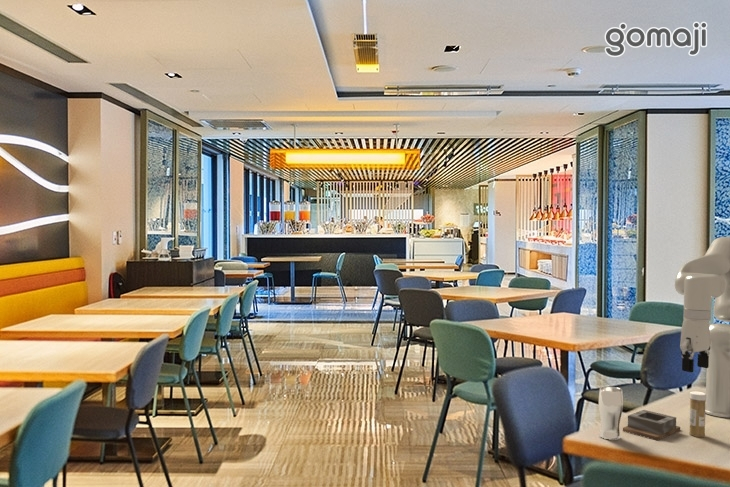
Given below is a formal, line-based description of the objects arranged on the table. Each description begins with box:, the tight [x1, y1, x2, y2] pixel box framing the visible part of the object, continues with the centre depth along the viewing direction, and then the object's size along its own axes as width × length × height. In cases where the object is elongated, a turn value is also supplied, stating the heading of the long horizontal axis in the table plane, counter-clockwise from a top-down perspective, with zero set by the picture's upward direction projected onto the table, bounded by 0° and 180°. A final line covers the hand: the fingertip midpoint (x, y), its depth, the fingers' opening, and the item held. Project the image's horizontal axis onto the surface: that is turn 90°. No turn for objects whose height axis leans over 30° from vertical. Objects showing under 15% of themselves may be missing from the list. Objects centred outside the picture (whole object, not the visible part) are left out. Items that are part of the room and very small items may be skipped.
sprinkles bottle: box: [688, 390, 706, 438], centre depth 197 cm, size 5×5×13 cm
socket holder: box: [622, 409, 681, 441], centre depth 201 cm, size 16×11×4 cm
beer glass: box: [598, 385, 624, 441], centre depth 193 cm, size 7×7×15 cm
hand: (695, 369), depth 196 cm, fingers open, 9 cm apart
